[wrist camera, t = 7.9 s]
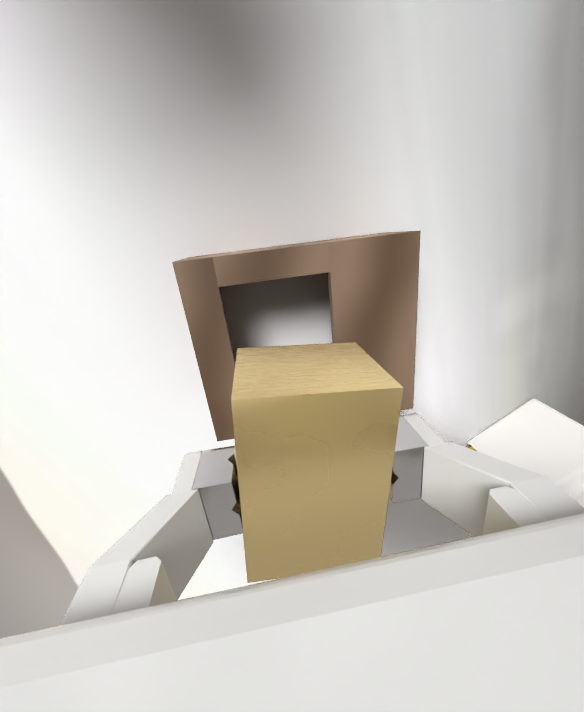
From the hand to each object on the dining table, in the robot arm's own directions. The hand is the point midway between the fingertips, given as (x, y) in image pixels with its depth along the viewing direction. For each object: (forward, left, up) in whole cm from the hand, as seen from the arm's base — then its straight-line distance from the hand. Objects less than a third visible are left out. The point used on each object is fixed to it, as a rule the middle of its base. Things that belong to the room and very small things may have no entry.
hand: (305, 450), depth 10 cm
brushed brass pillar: (0, 0, -2) cm, 2 cm away
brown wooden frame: (-2, 0, -13) cm, 13 cm away
